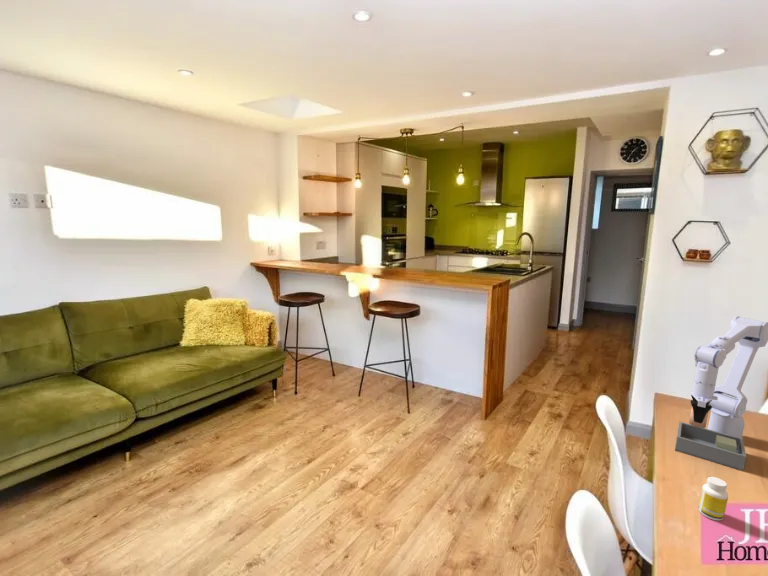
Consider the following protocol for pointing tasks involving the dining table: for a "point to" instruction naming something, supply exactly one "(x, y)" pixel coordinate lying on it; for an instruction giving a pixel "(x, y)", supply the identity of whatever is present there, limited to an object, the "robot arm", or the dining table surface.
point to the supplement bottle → (713, 499)
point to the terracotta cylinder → (699, 425)
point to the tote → (709, 446)
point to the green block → (725, 443)
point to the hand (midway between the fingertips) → (697, 419)
